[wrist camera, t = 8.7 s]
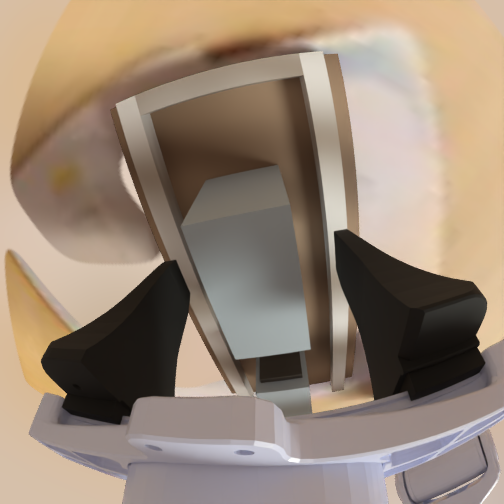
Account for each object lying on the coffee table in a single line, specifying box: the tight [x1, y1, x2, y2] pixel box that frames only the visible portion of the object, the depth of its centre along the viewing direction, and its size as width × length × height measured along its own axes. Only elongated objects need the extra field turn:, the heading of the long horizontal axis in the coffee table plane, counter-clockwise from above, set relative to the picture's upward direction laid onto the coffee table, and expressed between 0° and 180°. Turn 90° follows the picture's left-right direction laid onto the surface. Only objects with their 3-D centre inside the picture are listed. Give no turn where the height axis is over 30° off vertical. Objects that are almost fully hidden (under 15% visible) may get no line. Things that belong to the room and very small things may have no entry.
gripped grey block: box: [181, 165, 311, 360], centre depth 12 cm, size 4×7×5 cm, turn 12°
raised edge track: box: [110, 51, 359, 417], centre depth 15 cm, size 24×11×6 cm, turn 12°
